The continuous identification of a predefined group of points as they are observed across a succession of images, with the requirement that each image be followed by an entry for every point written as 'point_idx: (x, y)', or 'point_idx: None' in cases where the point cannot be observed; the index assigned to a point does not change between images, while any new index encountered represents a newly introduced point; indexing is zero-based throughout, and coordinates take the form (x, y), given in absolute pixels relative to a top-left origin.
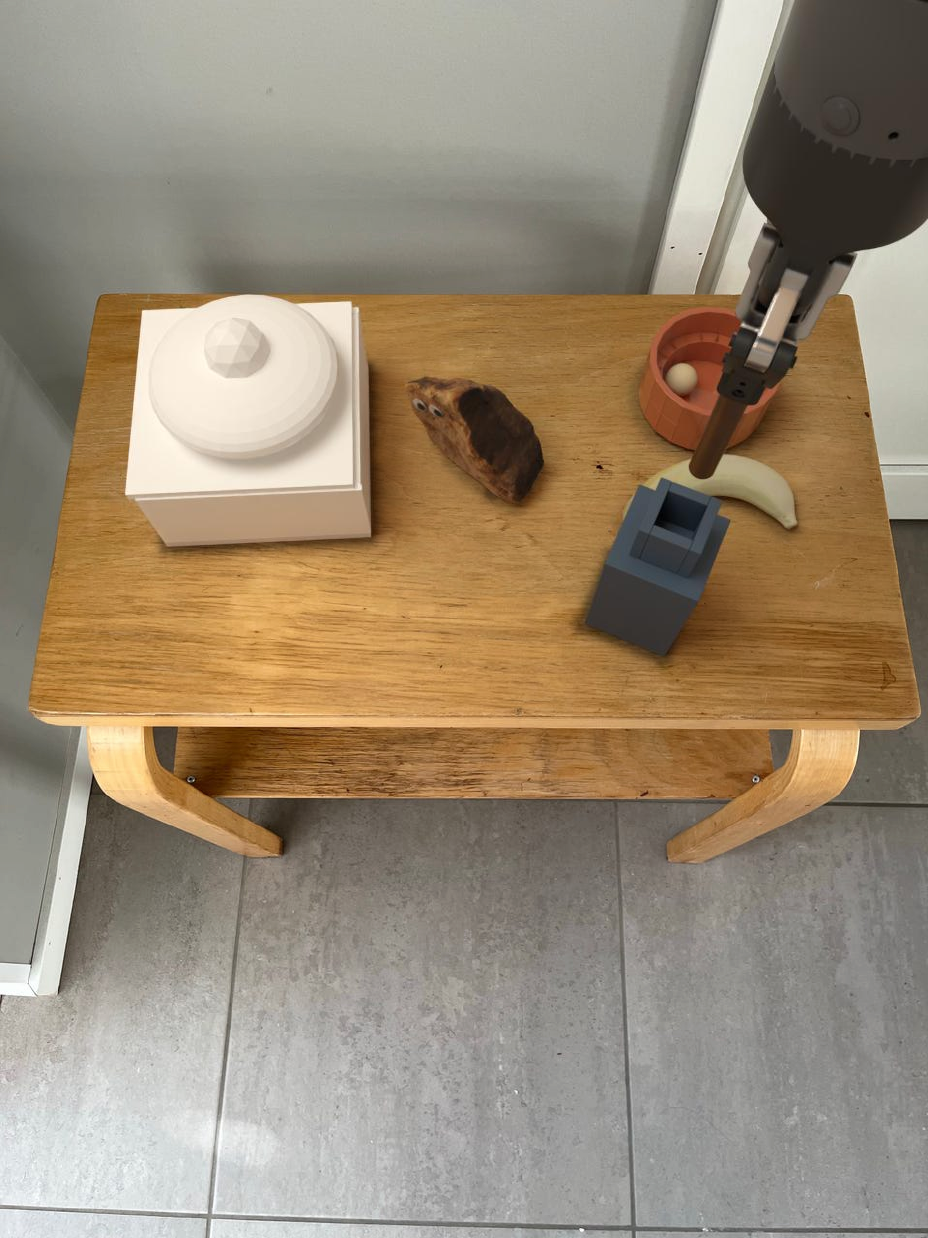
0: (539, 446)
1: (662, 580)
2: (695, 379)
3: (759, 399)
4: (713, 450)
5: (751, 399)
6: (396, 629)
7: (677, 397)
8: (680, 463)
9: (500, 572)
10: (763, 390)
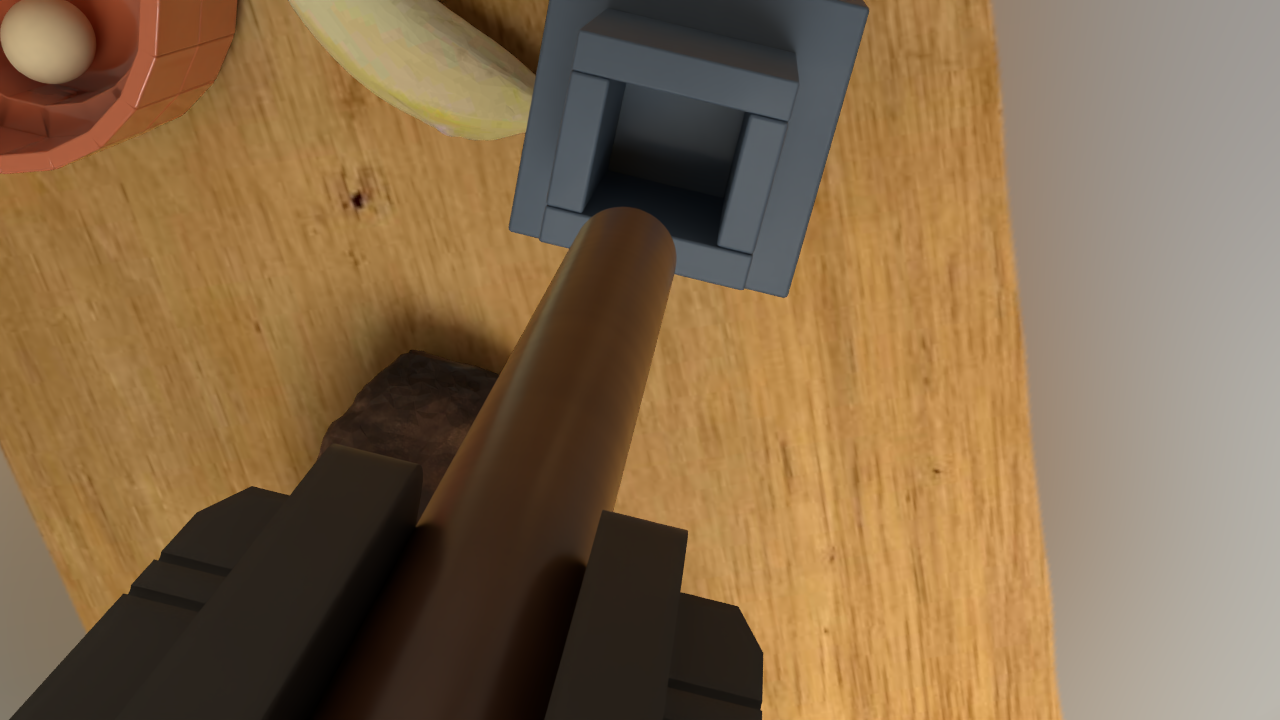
0: (377, 387)
1: (814, 128)
2: (37, 6)
3: (683, 554)
4: (655, 336)
5: (760, 677)
6: (863, 567)
7: (132, 80)
8: (306, 18)
9: (688, 384)
10: (675, 617)
